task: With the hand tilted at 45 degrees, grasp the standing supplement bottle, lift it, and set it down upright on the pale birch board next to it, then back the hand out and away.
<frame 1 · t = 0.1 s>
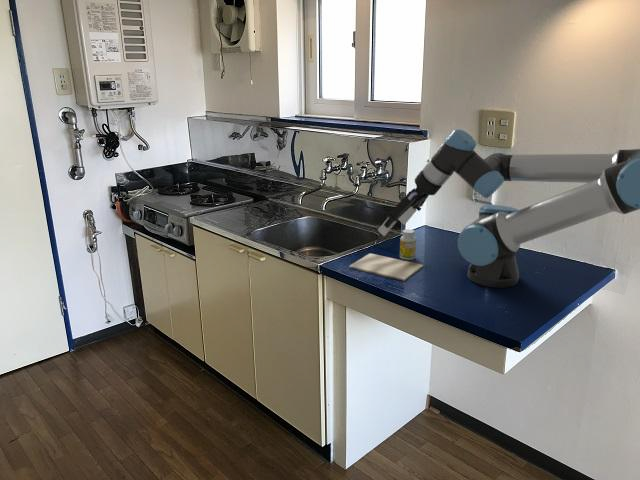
hand: (391, 227, 162), 15 cm above the worktop, tool tilted 35°, fingers open, 13 cm apart
supplement bottle: (407, 257, 179), on the worktop
birch board: (386, 267, 171), on the worktop
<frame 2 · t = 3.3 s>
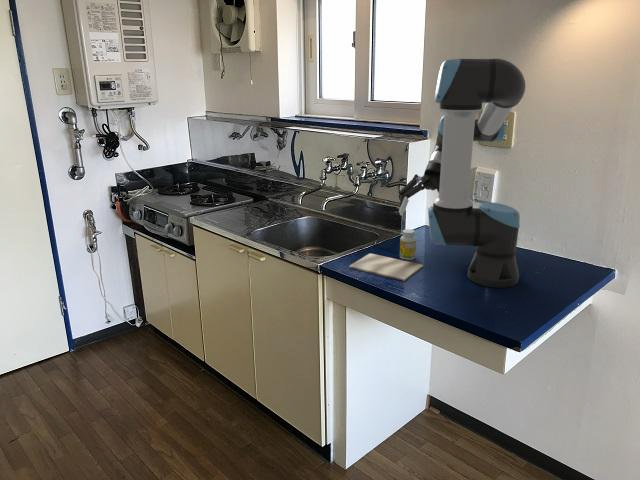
hand: (418, 216, 182), 12 cm above the worktop, tool tilted 45°, fingers open, 13 cm apart
nothing on the worktop moved.
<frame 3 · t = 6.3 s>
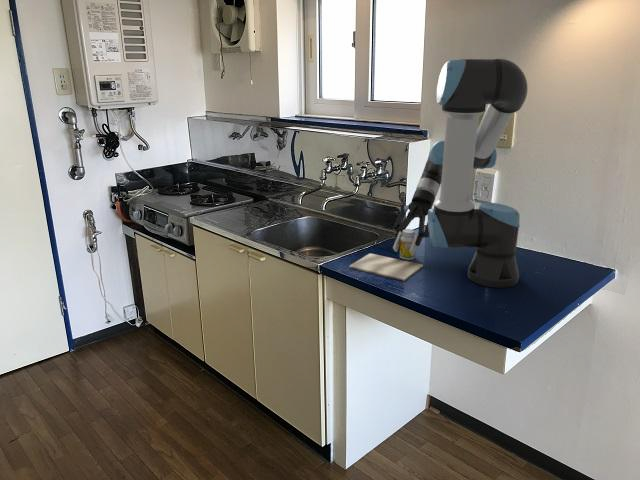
hand: (403, 251, 175), 3 cm above the worktop, tool tilted 45°, fingers closed on supplement bottle, 5 cm apart
supplement bottle: (407, 257, 179), on the worktop, touching gripper
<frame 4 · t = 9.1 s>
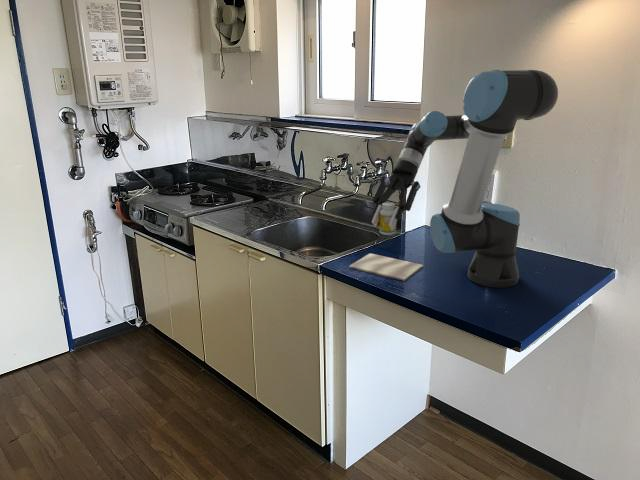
hand: (382, 225, 163), 15 cm above the worktop, tool tilted 45°, fingers closed on supplement bottle, 5 cm apart
supplement bottle: (387, 233, 167), point 12 cm above the worktop, touching gripper
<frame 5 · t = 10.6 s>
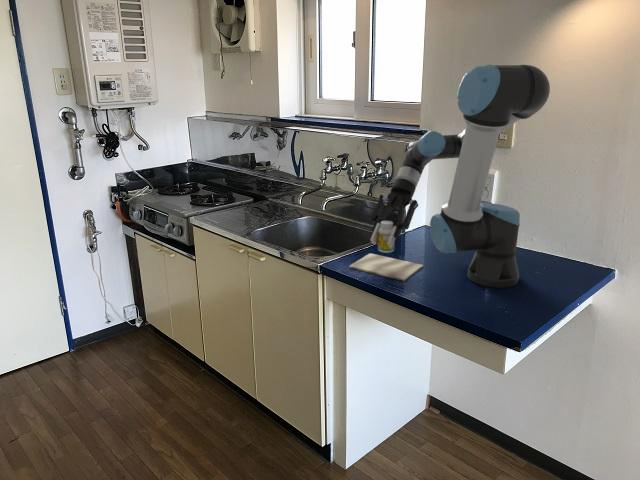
hand: (380, 243, 166), 9 cm above the worktop, tool tilted 45°, fingers closed on supplement bottle, 5 cm apart
supplement bottle: (385, 250, 170), point 5 cm above the worktop, touching gripper
when the fingers open (5 cm above the worktop, at t = 11.9 s): supplement bottle stays where it is, resting on birch board.
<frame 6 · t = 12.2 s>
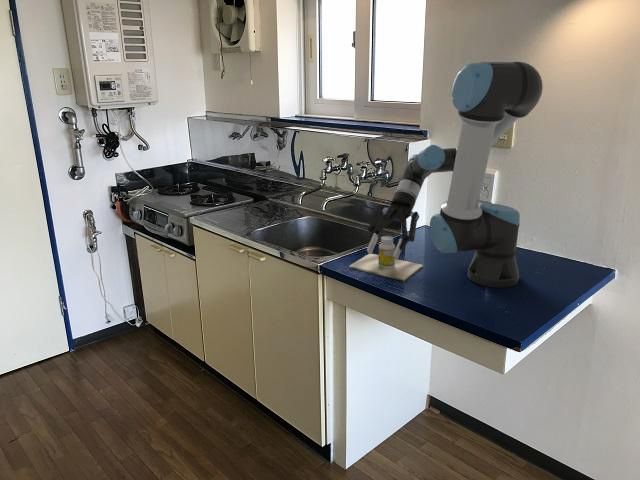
hand: (381, 255, 167), 5 cm above the worktop, tool tilted 45°, fingers open, 9 cm apart
supplement bottle: (386, 265, 171), resting on birch board
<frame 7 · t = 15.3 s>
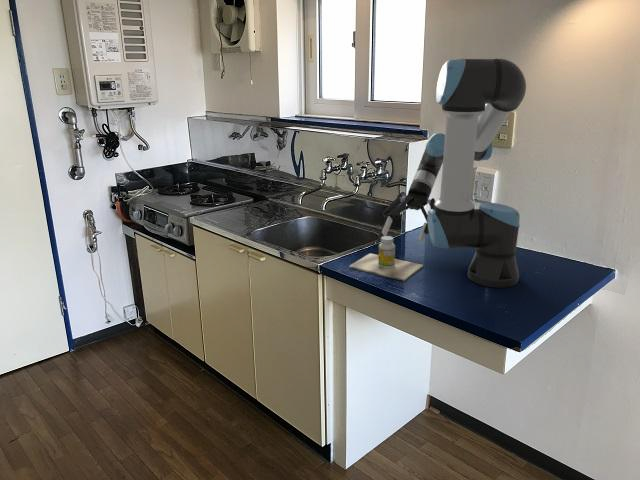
hand: (401, 237, 177), 7 cm above the worktop, tool tilted 45°, fingers open, 13 cm apart
nothing on the worktop moved.
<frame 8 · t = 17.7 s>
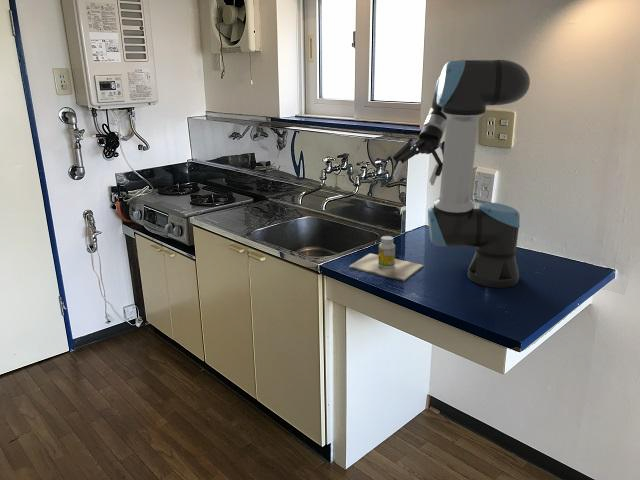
hand: (412, 180, 176), 26 cm above the worktop, tool tilted 45°, fingers open, 13 cm apart
nothing on the worktop moved.
at the end: supplement bottle 0.1 cm from the birch board (horizontally); supplement bottle tilted 0°; supplement bottle touching birch board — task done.
